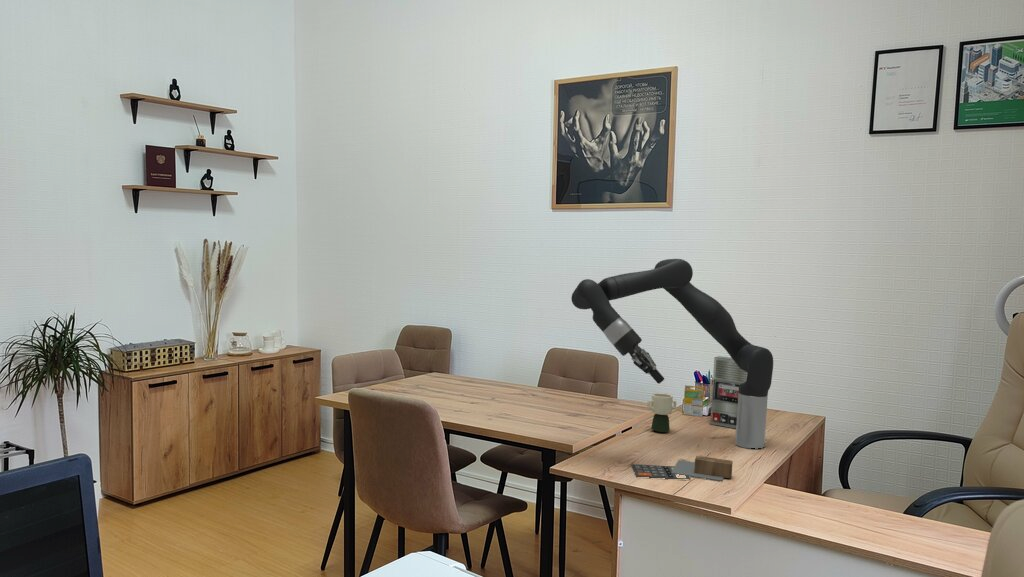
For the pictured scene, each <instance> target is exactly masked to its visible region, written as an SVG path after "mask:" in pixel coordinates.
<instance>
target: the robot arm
mask: <svg viewBox="0 0 1024 577" xmlns="http://www.w3.org/2000/svg"><path fill="white" fill-rule="evenodd" d="M693 275H694V271H693V267H692V265H691V264H690V263H689V262H688V261H687V260H685V259H681V258H668V259H663V260H660V261H658V262H657V263H656V264H655V266H654V268H652V269H648V270H641V271H636V272H635V271H634V272H628V273H621V274H618V275H613V276H608V277H606V278H603V279H602V280H600V281H599V282H596V281H595V280H593V279H589V278H587V279H585V278H584V279H583V280H581V281H580V282H579V283H578V285H577V287H576V288H575V289H574V291H573V292H572V294H571V297H570V298H571V302H572V304H573V306H574V307H576V308H577V309H579V310H589V309H591V312H592V320H593V322H594V324H595V325H596V326H597V327H598V328H599V330H600V331H601V332H602V333H603V334H604V335H605V338H606V339H607V340H608V341H609V342H610V343H611V345H613V347H614V348H615V350H616V351H617V352H619V354H620V355H621V356H622V357H624V356H626V355H627V354H629V356H630V357H631V360H632V362H633V365H635V366H636V367H637V368H638V369H640V370H641V371H642V372H644V373H645V374H648V375H650V377H651V378H653V380H654V381H655V382H656V383H657V384H659V385H660V384H661V383H662V382H664V381H665V377H664V376H663V374H661V373H660V371H659V370H658V368H657V364H656V363H655V362H654V361H655V360H653V358H652V356H651V354H650V353H649V352H648V351H646V350H645V349H644V348H641V346H639V345H640V343H641V342H642V338H641V336H640V335H639V334H638V333H637V332H636V331H635V329H634V328H633V327H632V326H631V325H630V324H629V323H628V322H627V321H626V320H625V319H624V318H623V317H622V316H621V315H620V314H619V313H618V312H617V311H616V310H615V308H614V307H613V306H612V304H611V301H612V300H618V299H623V298H627V297H629V296H635V295H637V294H641V293H644V292H649V291H652V290H658V289H664V291H666V292H667V293H668V294H669V295H671V296H672V297H673V298H674V299H675V300H676V301H677V302H679V303H680V304H681V306H683V308H684V309H686V311H687V312H688V313H689V314H690V315H691V316H692V317H693V318H694V319H695V321H696V322H697V323H698V324H699V325H700V326H701V327H702V328H703V329H704V330H705V331H706V332H707V333H708V334H709V335H710V336H711V337H712V338H713V339H714V340H715V341H716V342H717V343H718V344H719V345H720V346H722V347H723V349H724V350H725V351H726V352H727V354H728V355H729V356H730V358H732V359H733V360H734V362H735V363H736V364H737V365H738V367H739V368H741V369H742V370H744V371H746V372H748V373H747V380H746V382H745V383H742V384H740V385H739V393H738V408H737V424H736V428H735V442H734V443H735V445H736V446H739V447H740V448H744V449H751V448H755V449H754V450H759V449H758V448H761V449H764V448H765V441H766V429H767V428H766V426H767V412H768V398H769V397H768V395H769V390H771V385H772V380H773V379H772V378H773V373H774V372H773V371H774V356H773V354H772V352H771V350H769V349H768V348H765V347H763V346H758V345H755V344H753V343H751V342H749V341H748V340H747V339H746V338H745V337H744V336H743V335H742V334H740V332H739V330H738V328H737V327H736V323H735V321H734V319H733V316H732V315H731V314H730V313H729V311H727V309H726V308H725V307H724V306H723V305H722V304H721V303H720V302H719V301H718V300H717V299H715V298H714V297H712V296H711V295H709V294H707V293H706V292H704V291H702V290H701V289H699V288H697V287H696V286H694V284H692V282H691V281H692V279H693ZM763 447H764V448H763Z"/></svg>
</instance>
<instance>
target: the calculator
mask: <svg viewBox="0 0 1024 577" xmlns="http://www.w3.org/2000/svg"><path fill="white" fill-rule="evenodd" d="M674 467H675V465H674V466H673V465H672V466H671V465H669V466H668V465H656V464H655V465H654V464H639V463H638V464H637V463H631V468H632V470H633V473H634V472H635V473H634V475H635V477H636V478H637V477H649V478H648V479H651V478H665V479H664V480H668V479H691V478H692V477H689V476H688V475H685V476H686V478H677V477H676V475H677V474H674V473H671V472H672V471H673V469H674ZM679 476H680V475H679ZM679 476H678V477H679ZM691 480H692V479H691Z"/></svg>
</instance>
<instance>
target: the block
mask: <svg viewBox="0 0 1024 577" xmlns="http://www.w3.org/2000/svg"><path fill="white" fill-rule="evenodd" d="M694 462H695V468H694V473H698V474H704V475H711V476H718V477H724V478H726V479H732V475H733V462H734V461H733V460H732V459H724V458H723V459H722V458H716V457H710V456H701V455H696V457H695V458H694Z"/></svg>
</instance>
